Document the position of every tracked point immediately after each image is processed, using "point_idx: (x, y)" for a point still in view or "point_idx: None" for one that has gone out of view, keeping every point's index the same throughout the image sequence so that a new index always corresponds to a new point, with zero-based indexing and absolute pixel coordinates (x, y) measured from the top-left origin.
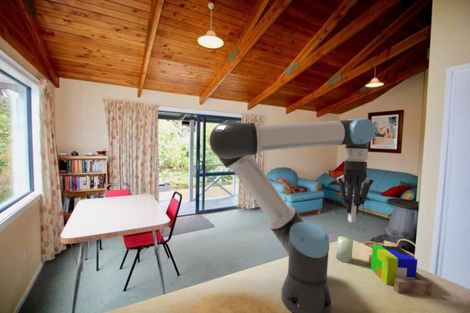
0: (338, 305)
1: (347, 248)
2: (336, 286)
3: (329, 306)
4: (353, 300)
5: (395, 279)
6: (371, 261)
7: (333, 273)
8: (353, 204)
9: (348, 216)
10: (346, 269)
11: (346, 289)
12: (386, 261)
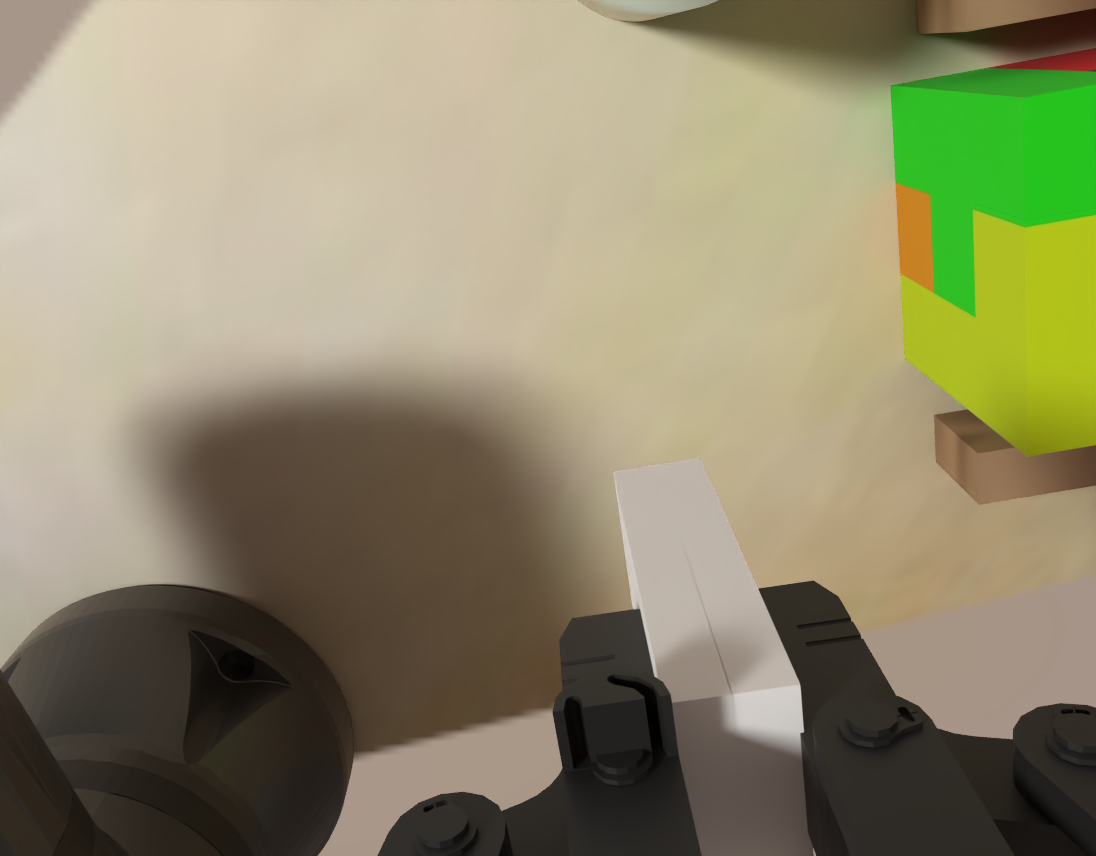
0: (408, 720)
1: (669, 14)
2: (433, 513)
3: (322, 848)
4: (530, 644)
5: (975, 461)
6: (924, 89)
7: (441, 312)
8: (793, 731)
9: (623, 522)
10: (599, 187)
11: (510, 530)
12: (998, 406)
